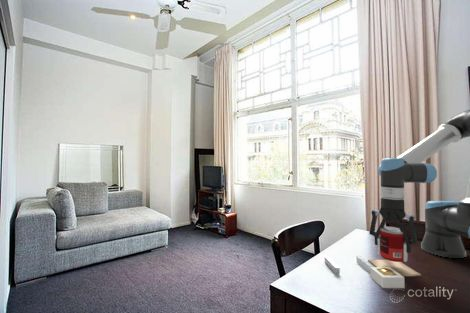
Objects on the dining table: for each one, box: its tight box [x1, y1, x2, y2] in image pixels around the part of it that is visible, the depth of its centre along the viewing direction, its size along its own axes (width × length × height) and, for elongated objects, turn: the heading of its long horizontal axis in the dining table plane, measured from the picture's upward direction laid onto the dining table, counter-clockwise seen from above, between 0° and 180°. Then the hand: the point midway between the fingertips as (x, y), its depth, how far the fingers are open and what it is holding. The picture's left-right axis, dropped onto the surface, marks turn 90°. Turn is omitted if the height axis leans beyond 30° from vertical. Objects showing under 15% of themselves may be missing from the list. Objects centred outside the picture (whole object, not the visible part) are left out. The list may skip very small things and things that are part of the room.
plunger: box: [380, 268, 394, 275], centre depth 78 cm, size 4×4×3 cm
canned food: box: [379, 226, 406, 263], centre depth 88 cm, size 8×8×11 cm
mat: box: [367, 259, 422, 277], centre depth 88 cm, size 12×12×1 cm
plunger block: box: [369, 266, 405, 289], centre depth 78 cm, size 7×7×4 cm
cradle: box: [324, 255, 374, 276], centre depth 88 cm, size 14×10×2 cm
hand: (392, 257), depth 88 cm, fingers closed on canned food, 8 cm apart
